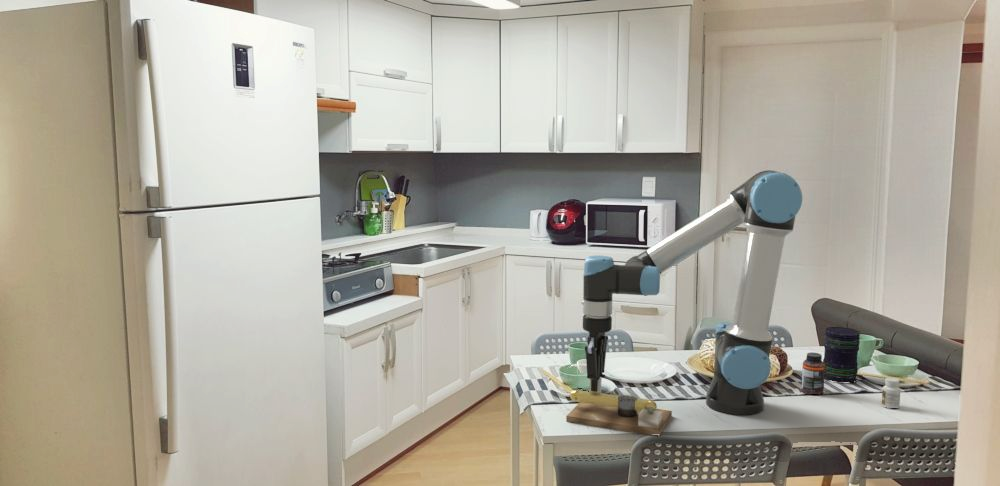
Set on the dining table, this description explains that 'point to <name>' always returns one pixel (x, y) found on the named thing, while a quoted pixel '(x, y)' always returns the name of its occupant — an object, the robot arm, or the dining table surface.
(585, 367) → the cup
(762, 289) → the robot arm
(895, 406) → the pill bottle
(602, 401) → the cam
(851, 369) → the storage jar
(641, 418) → the stand
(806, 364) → the supplement bottle
